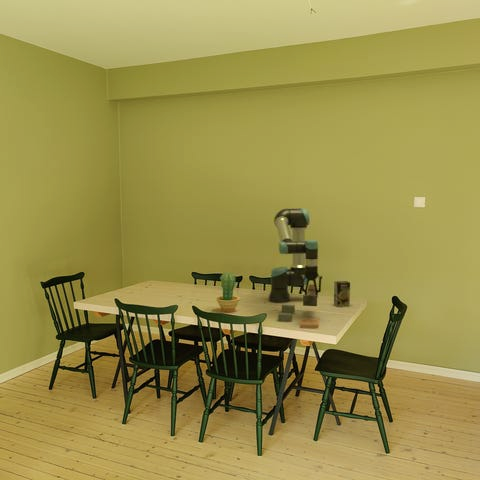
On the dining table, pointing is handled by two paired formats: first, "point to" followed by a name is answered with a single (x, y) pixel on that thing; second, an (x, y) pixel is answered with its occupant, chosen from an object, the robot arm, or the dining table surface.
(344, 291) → the coffee box
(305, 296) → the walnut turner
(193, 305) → the dining table surface
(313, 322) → the green rectangular panel
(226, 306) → the potted cactus
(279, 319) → the tool rack
